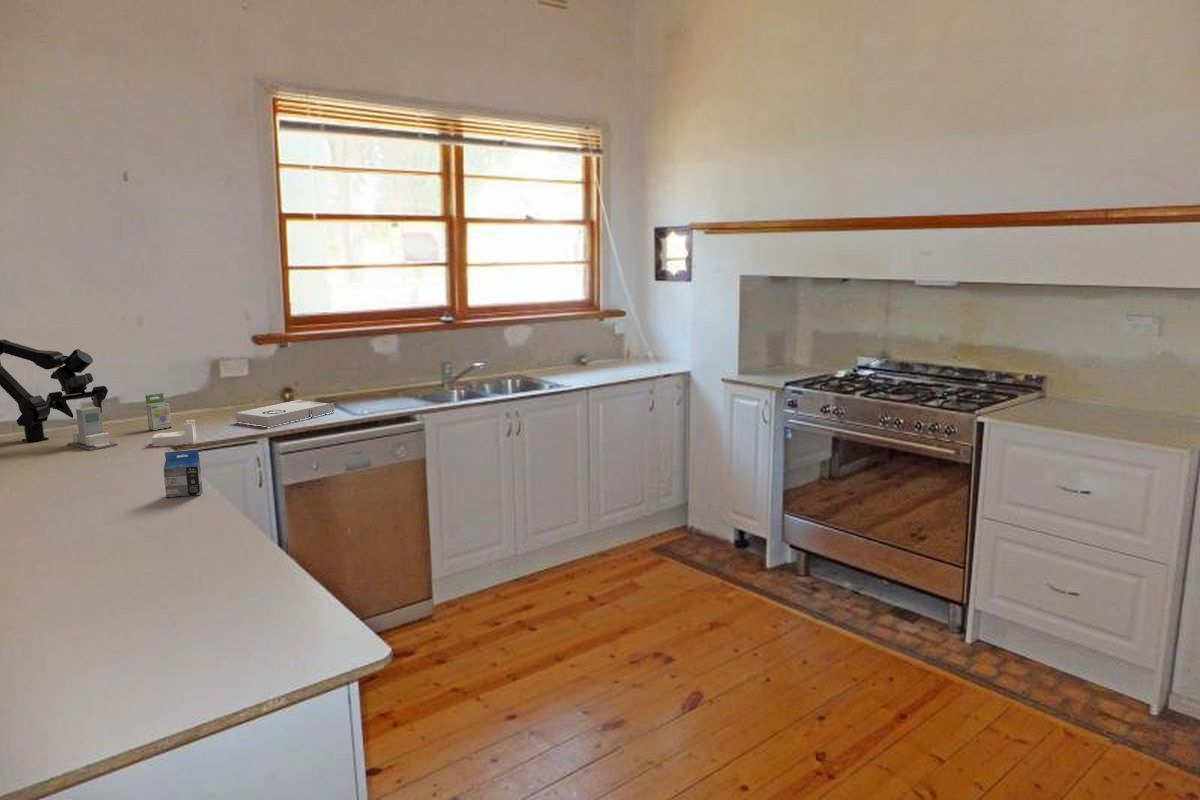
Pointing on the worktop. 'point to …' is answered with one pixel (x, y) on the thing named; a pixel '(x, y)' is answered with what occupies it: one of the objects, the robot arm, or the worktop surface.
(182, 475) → the blue retail package
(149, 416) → the ink box
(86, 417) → the grey module
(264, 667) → the worktop surface
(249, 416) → the power supply unit
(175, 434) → the bracket
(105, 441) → the module rail
